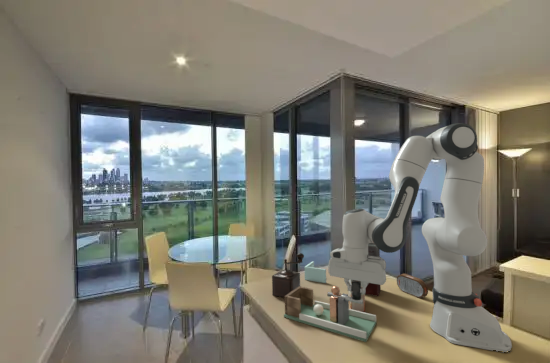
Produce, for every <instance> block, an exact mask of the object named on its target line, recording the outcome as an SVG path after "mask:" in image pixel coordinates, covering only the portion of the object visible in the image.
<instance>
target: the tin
mask: <svg viewBox="0 0 550 363" xmlns="http://www.w3.org/2000/svg"><path fill="white" fill-rule="evenodd" d="M396 285H397V287H398V289H400V290H401V292H403V293H406V294H409V295H410V296H413V297H416V298H417V299H420V298H421V299H422V298H425V297H427V296H428V295H429V288H428V285H427V284H426V282H425V281H423V279H421V278H419V277H415V276H414V275H411V274H408V273H402V274H399V275H398V276H397V277H396Z"/></svg>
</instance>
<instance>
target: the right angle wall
mask: <svg viewBox="0 0 550 363" xmlns="http://www.w3.org/2000/svg"><path fill="white" fill-rule="evenodd" d="M304 281H310V282H315V283H316V282H317V283H321V284H322V283H323V284H326V283H327V268H326V269H324V268H319V267H315V261H314V260H313V261H311V262H309V263H308V264H307V265H305V266H304Z"/></svg>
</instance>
